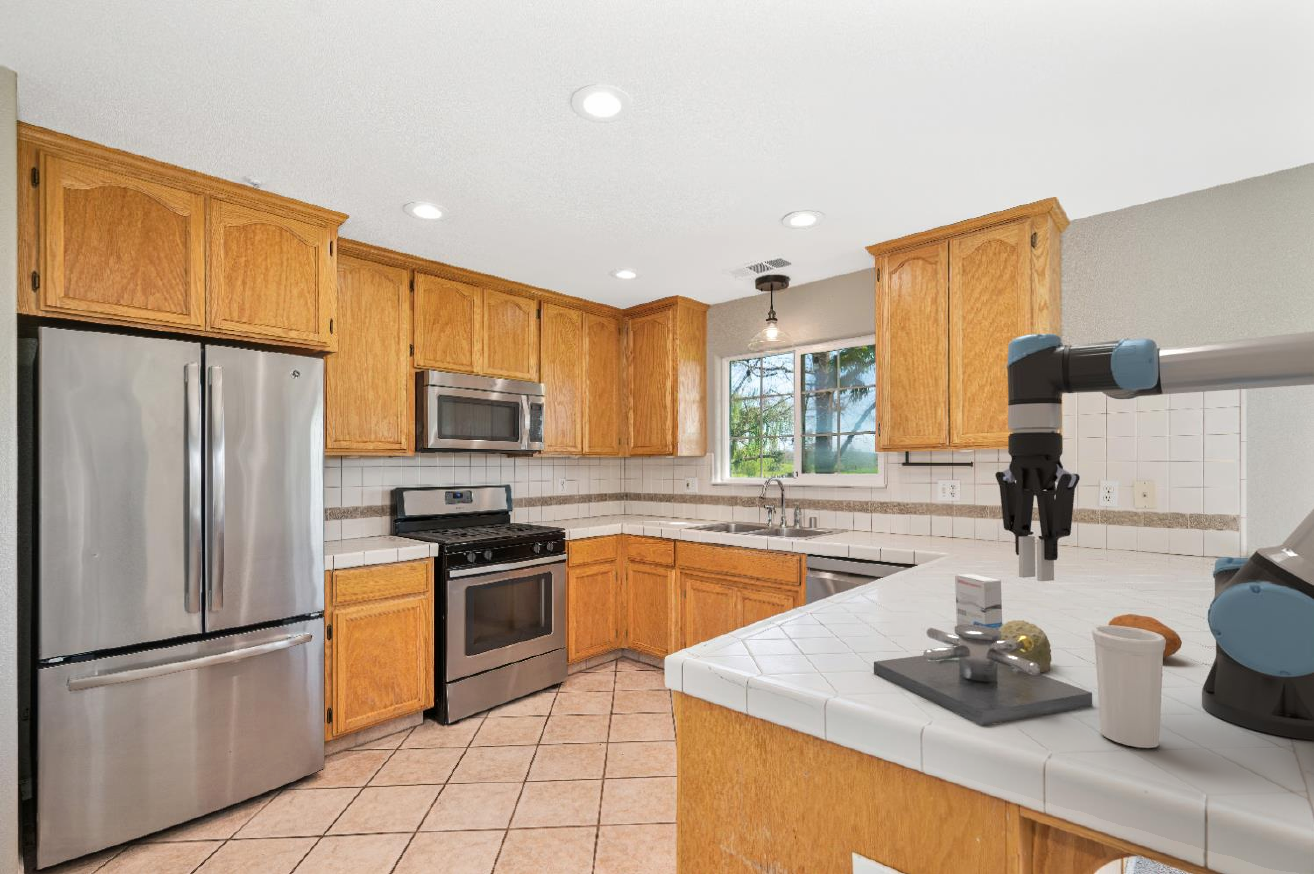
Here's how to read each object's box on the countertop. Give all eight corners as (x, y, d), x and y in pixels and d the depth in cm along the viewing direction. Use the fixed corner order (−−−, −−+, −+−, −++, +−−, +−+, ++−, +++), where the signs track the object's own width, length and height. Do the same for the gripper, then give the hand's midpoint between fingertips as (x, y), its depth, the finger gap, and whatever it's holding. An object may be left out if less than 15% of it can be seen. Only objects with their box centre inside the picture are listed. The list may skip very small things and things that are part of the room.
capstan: (1094, 689, 97) (1093, 641, 98) (982, 708, 90) (981, 656, 90) (977, 649, 118) (977, 609, 118) (878, 661, 110) (878, 619, 110)
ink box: (1003, 635, 136) (1003, 580, 136) (984, 637, 134) (984, 581, 134) (972, 625, 144) (972, 572, 144) (954, 626, 142) (954, 574, 143)
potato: (1133, 646, 129) (1133, 608, 129) (1194, 663, 118) (1193, 622, 118) (1098, 649, 126) (1098, 611, 126) (1157, 667, 115) (1156, 626, 115)
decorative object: (1044, 695, 111) (1076, 648, 111) (992, 660, 113) (1023, 613, 113) (1021, 682, 120) (1050, 638, 120) (973, 649, 122) (1002, 606, 122)
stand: (1092, 705, 97) (1092, 690, 97) (982, 725, 89) (982, 709, 90) (968, 659, 119) (968, 647, 119) (872, 672, 111) (872, 659, 111)
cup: (1078, 728, 89) (1077, 625, 89) (1133, 726, 90) (1131, 624, 90) (1125, 755, 81) (1123, 641, 81) (1184, 753, 81) (1182, 641, 82)
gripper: (1099, 430, 97) (1101, 586, 96) (1010, 433, 111) (1011, 569, 110) (1063, 429, 94) (1065, 589, 93) (977, 432, 109) (978, 571, 108)
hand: (1036, 578), depth 102 cm, fingers open, 3 cm apart
